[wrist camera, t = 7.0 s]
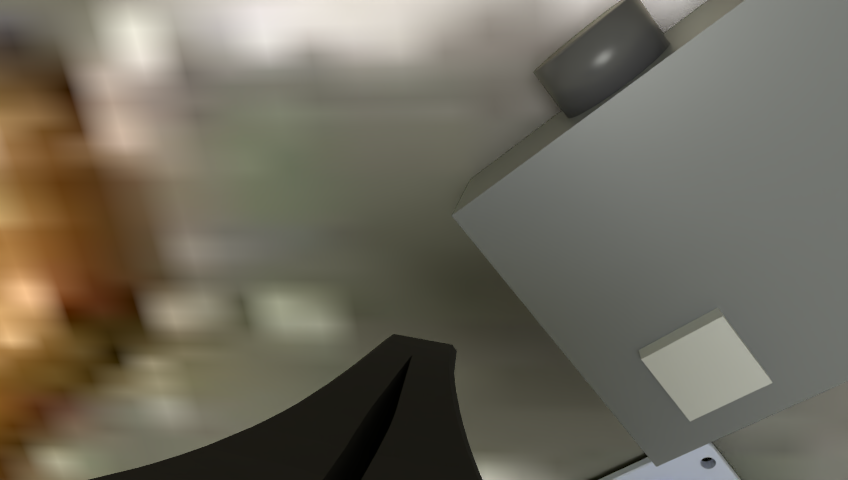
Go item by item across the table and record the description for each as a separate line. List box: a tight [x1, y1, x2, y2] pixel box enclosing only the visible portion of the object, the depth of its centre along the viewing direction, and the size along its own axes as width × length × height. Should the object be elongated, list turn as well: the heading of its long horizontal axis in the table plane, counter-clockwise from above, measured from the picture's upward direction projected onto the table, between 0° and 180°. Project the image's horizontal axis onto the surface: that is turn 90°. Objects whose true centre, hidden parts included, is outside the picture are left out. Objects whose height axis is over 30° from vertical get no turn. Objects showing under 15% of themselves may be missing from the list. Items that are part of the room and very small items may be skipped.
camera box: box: [452, 0, 848, 467], centre depth 16 cm, size 12×11×4 cm
